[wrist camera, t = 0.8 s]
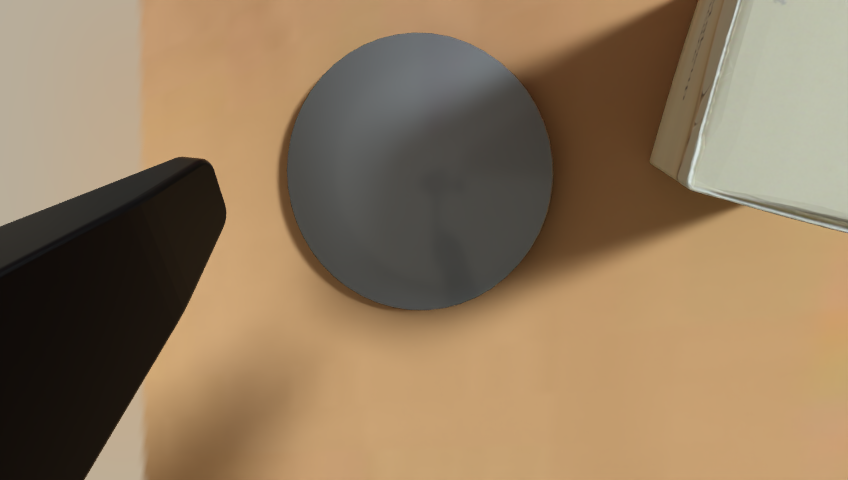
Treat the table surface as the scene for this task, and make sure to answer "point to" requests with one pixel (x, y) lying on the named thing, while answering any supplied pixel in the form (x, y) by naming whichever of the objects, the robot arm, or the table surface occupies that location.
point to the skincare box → (763, 108)
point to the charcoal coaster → (419, 171)
